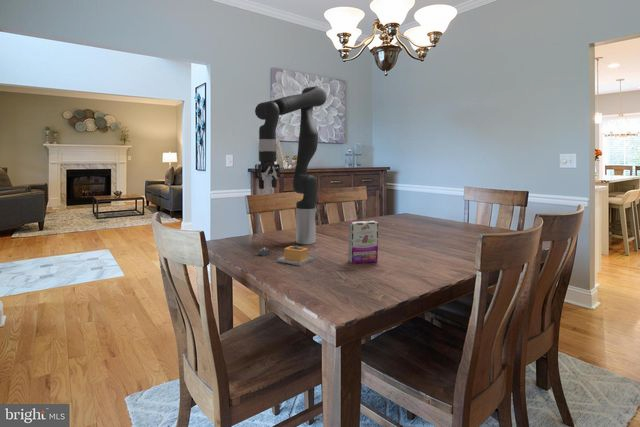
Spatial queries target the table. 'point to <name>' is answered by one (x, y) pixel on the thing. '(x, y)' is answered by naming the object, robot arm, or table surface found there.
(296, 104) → the robot arm
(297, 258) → the orange link
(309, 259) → the plate
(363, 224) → the candy bar box
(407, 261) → the table surface
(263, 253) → the grey knob block
